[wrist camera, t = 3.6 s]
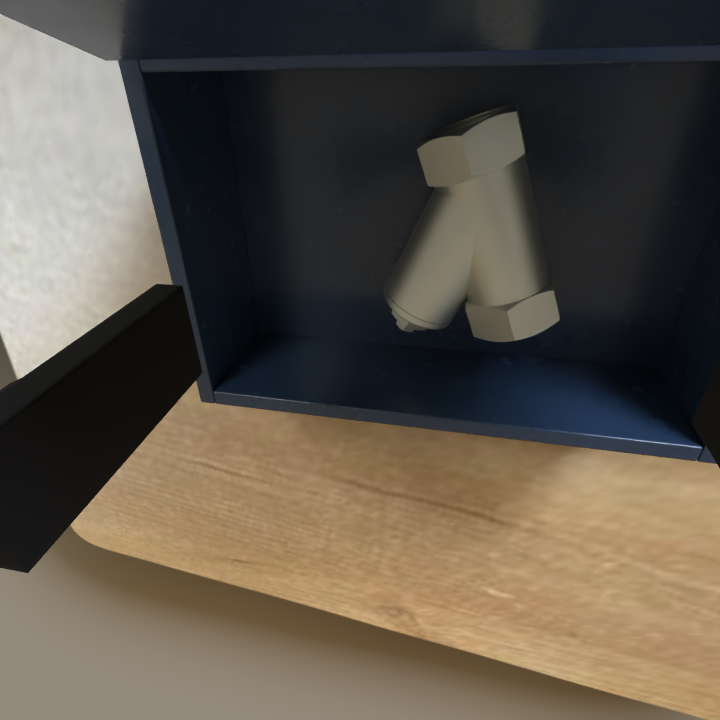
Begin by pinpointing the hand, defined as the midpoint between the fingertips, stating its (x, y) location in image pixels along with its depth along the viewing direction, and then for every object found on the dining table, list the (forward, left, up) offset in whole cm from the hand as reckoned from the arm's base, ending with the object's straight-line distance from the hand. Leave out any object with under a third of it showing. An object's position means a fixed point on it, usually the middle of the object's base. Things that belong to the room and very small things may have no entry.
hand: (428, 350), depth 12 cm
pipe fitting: (0, 0, -11) cm, 11 cm away
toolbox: (0, 0, -11) cm, 11 cm away
